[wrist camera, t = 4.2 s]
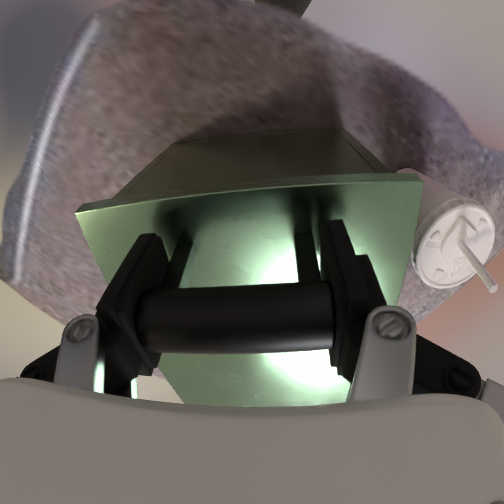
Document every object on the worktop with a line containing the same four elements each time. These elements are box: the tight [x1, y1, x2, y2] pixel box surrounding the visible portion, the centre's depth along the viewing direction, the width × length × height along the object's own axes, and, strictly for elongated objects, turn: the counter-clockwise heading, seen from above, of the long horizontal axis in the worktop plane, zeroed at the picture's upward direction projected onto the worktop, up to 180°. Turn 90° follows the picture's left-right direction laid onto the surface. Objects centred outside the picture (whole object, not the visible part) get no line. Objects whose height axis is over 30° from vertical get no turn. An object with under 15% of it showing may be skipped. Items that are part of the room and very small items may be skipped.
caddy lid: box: [75, 173, 424, 407], centre depth 14 cm, size 18×14×5 cm
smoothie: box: [395, 168, 498, 293], centre depth 18 cm, size 6×6×14 cm
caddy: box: [113, 128, 392, 198], centre depth 22 cm, size 17×14×12 cm
